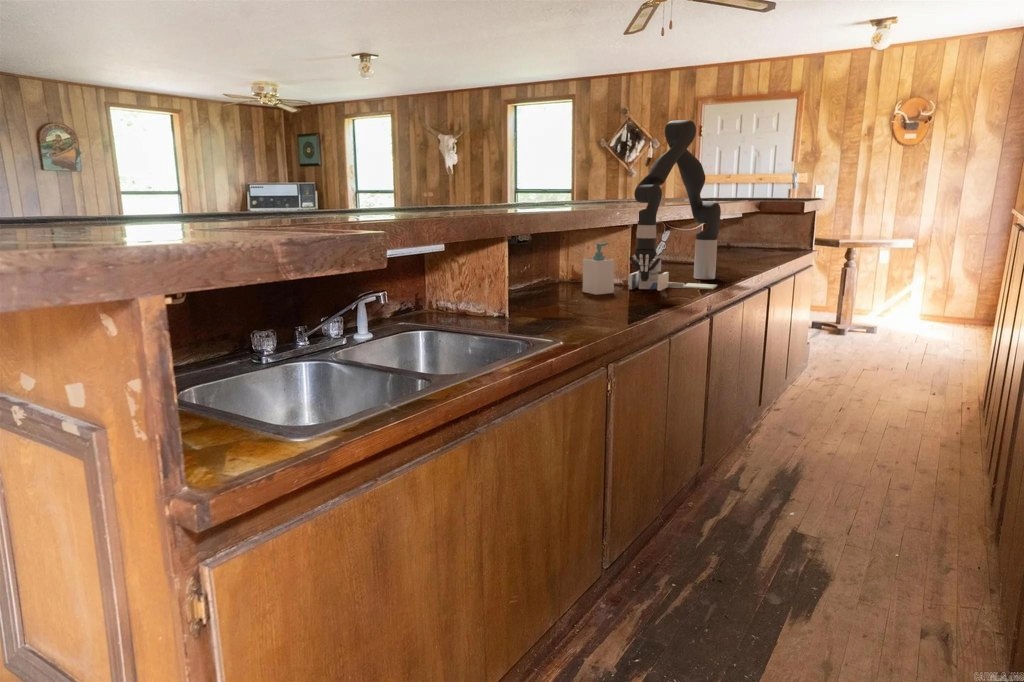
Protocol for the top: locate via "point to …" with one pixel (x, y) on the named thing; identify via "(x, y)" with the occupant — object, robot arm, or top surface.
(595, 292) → the soap bottle
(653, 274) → the ink box
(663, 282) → the tie jaw
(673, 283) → the clamp base
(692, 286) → the mat
